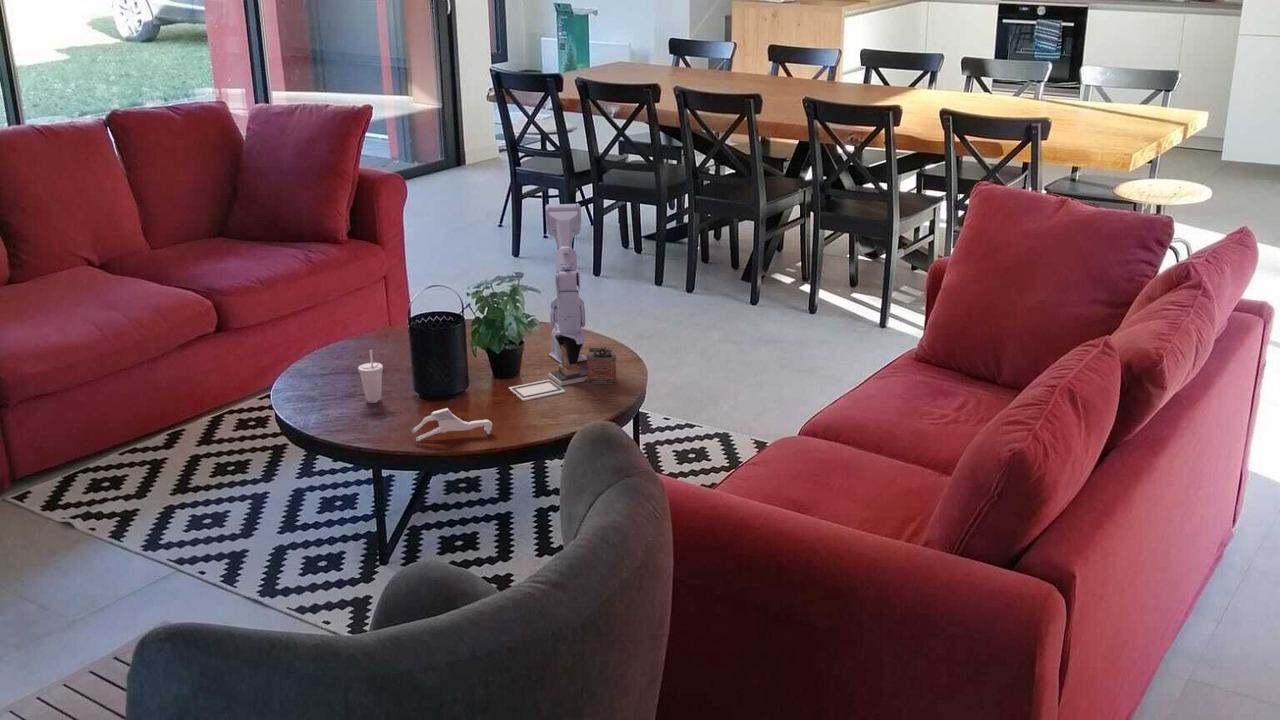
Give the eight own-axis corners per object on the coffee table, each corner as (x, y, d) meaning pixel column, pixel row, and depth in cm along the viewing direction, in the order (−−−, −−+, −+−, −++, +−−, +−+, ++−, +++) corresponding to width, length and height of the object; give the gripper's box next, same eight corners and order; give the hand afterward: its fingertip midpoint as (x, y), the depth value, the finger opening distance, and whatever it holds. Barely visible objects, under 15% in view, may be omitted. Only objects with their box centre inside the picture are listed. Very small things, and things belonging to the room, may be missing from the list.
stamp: (558, 371, 338) (557, 344, 335) (572, 368, 339) (571, 341, 337) (566, 377, 333) (565, 349, 331) (579, 374, 335) (578, 346, 332)
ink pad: (548, 376, 338) (548, 371, 338) (581, 370, 343) (581, 365, 342) (560, 385, 332) (560, 380, 331) (593, 379, 336) (593, 373, 335)
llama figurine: (429, 464, 301) (495, 431, 302) (407, 426, 297) (475, 393, 297) (429, 461, 303) (495, 428, 304) (407, 423, 298) (474, 390, 299)
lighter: (617, 379, 335) (616, 345, 332) (616, 384, 332) (615, 349, 329) (588, 379, 336) (587, 344, 332) (586, 383, 333) (585, 348, 329)
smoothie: (391, 400, 324) (386, 350, 319) (370, 407, 319) (365, 356, 314) (376, 394, 328) (371, 345, 323) (356, 401, 323) (351, 351, 318)
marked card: (508, 388, 330) (508, 386, 330) (549, 380, 335) (549, 378, 335) (523, 401, 322) (523, 398, 322) (565, 392, 327) (565, 390, 327)
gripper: (544, 309, 335) (546, 356, 340) (566, 323, 323) (568, 372, 328) (567, 305, 338) (569, 351, 343) (590, 319, 326) (592, 367, 331)
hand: (570, 361), depth 335 cm, fingers closed on stamp, 3 cm apart
